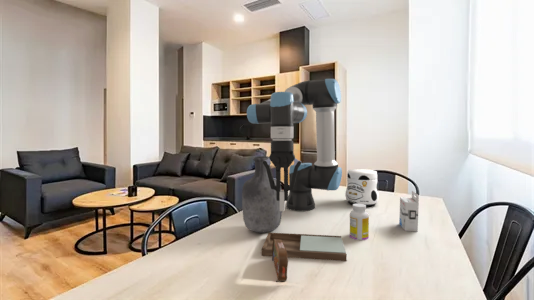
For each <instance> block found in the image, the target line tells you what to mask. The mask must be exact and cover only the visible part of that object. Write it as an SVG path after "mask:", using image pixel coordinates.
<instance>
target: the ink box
mask: <svg viewBox="0 0 534 300" xmlns="http://www.w3.org/2000/svg"><path fill="white" fill-rule="evenodd" d="M419 197H420V196H419V194H418V193H417V192H415V191H413V190H411V197H405V196H404V197H403V196H402V197H399V222H398V224H399V225H400V227H402V229H403V231H404V232H405V231H406V232H418V231H419V230H418V229H419V201H420V199H419Z"/></svg>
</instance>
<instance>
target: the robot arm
mask: <svg viewBox="0 0 534 300" xmlns="http://www.w3.org/2000/svg"><path fill="white" fill-rule="evenodd" d="M341 92H342V91H341V87H340V84H339V82H338V79H337V80H336V79H335V78H322V79H313V80H304V81H301V82H297V83H296V84H294V85H292V86H289V87H287V88H286V89H285V91H276V92H273V93H271V95H270V98H269V99H268V100H265V101H263V102H261V103H253V104H250V105H249V106H248V107H247V109H246V117H247V120H248V122H249V123H251V124H257V125H259V124H260V125H261V124H270V139H271V140H270V154H269V155H268V157H269V159H267V160H265V161H263V164H264V166H265V167H266V170H267V174H268V178H269V183H270V187H271V189H274V190H276V199H277V201H280V211H282V212H285V209H286V208H287V210H288V209H289V210H290V209H291V210H290V211H298V212H306V211H307V212H308V211H312V210H314V209H316V203H315V199H314V197H313V196H314V195H313V193H312V189H313V190H321V191H322V190H323V191H327V192H328V191H337V190H338V189H339V187H340V185H341V182H342V177H343V168H342V167H340V166H339V162H338V161H336V159H335V158H336V154H335V153H336V151H335V149H336V148H335V111H336V109H337V108H338V104H340V103H341V102H342V93H341ZM306 106H312V110H314V112H315V123H316V125H315V127H316V133H315V134H316V161H314V163H312V162H302V160H299V159H298V158H296V156H295V153H294V151H295V150H294V143H295V142H294V140H293V139H294V132H295V131H294V127H295V126H294V124H299V123H302V122H304V120H306V118H307V117H308V110H307V107H306ZM271 164H272V165H274V167H275V178H274V175H273V171H272V167H271ZM282 168H283V189H282V185H281V184H282V182H281V178H282V177H281V175H282V173H281V169H282ZM274 179H275V180H276V185H275V183H274ZM280 189H281V190H280Z"/></svg>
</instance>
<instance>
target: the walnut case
mask: <svg viewBox="0 0 534 300" xmlns="http://www.w3.org/2000/svg"><path fill="white" fill-rule="evenodd" d="M301 235H302V236H322V237H341V238H342V236H341V235H325V234H323V235H322V234H306V233H305V234H304V233H286V232H267V235H266V238H265V240H264V243H263V245H262V247H261V250H260V251H261V252H260V253H261V256H262V257H272V245H273V240H274V239H278V240H282V241H283V243H284V245H285V248H286V251H287V256H288V259H305V260H306V259H307V260H321V261H323V260H324V261H338V262H347V259H348V258H347V252H346V253H331V252H314V251H300V243H301Z"/></svg>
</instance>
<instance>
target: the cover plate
mask: <svg viewBox="0 0 534 300" xmlns="http://www.w3.org/2000/svg"><path fill="white" fill-rule="evenodd" d="M300 251H314V252H331V253H346V254H347V252H346V248H345V245H344V241H343V238H342V236H341V237H322V236H302V235H301V243H300Z"/></svg>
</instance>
